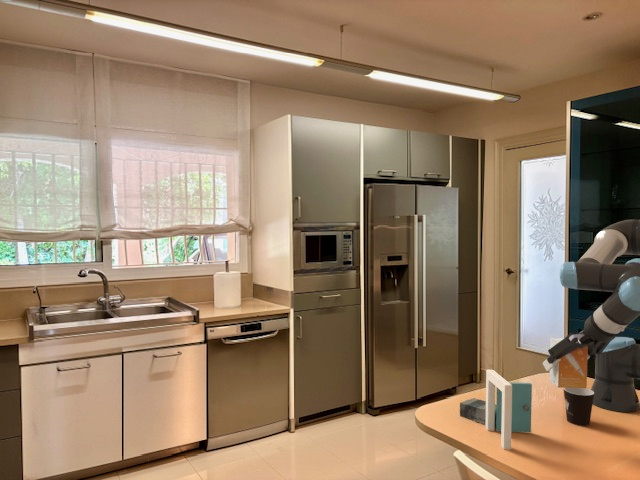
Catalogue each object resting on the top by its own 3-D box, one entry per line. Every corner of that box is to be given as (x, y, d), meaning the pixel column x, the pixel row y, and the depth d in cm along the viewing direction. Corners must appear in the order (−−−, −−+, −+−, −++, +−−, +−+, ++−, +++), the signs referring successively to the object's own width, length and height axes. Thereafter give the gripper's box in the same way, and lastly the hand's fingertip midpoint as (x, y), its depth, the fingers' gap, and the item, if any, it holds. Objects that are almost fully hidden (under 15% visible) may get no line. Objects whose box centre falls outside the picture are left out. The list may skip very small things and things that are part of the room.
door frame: (491, 427, 148) (492, 369, 148) (511, 449, 134) (512, 385, 133) (485, 427, 148) (486, 369, 148) (503, 449, 134) (504, 385, 133)
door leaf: (496, 429, 146) (496, 381, 145) (529, 430, 145) (530, 382, 145) (498, 432, 143) (499, 384, 143) (532, 434, 143) (533, 385, 142)
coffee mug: (592, 429, 147) (593, 397, 147) (561, 423, 152) (562, 391, 152) (594, 417, 157) (595, 386, 157) (565, 411, 162) (565, 381, 161)
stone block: (475, 410, 163) (475, 395, 163) (515, 424, 152) (515, 408, 152) (459, 416, 157) (459, 400, 157) (499, 431, 146) (499, 414, 146)
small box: (558, 388, 137) (558, 342, 137) (548, 381, 143) (549, 337, 143) (587, 388, 136) (588, 343, 136) (577, 381, 143) (577, 337, 142)
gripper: (579, 337, 122) (534, 380, 137) (647, 332, 128) (597, 374, 143) (563, 313, 127) (522, 357, 142) (630, 309, 132) (583, 352, 148)
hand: (559, 365), depth 143 cm, fingers closed on small box, 9 cm apart
